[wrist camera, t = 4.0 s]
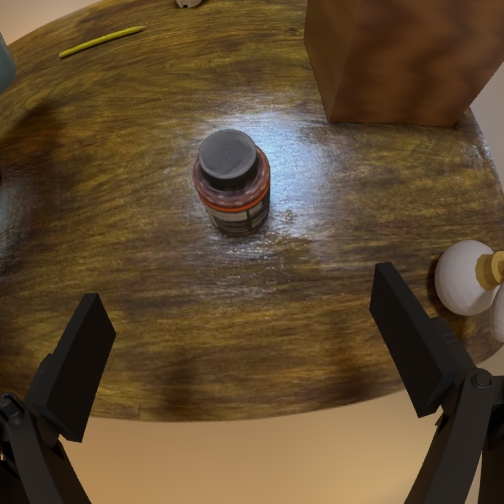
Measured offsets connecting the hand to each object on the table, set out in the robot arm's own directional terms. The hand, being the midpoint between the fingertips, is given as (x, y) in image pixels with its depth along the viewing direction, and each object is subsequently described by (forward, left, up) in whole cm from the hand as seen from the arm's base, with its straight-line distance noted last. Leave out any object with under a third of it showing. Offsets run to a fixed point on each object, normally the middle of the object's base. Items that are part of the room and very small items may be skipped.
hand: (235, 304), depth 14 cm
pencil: (-21, +44, -15) cm, 51 cm away
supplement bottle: (0, +10, -15) cm, 19 cm away
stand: (+20, +28, -15) cm, 38 cm away
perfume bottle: (+22, -1, -15) cm, 27 cm away
